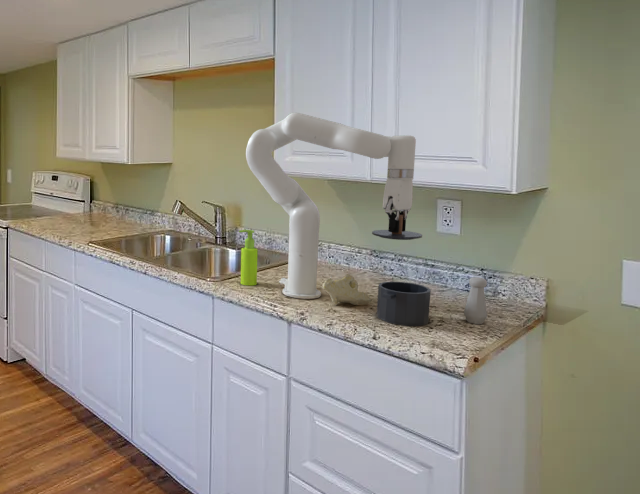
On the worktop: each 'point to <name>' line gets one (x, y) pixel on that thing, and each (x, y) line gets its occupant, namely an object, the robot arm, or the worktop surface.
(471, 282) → the salt shaker
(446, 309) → the worktop surface
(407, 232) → the lid
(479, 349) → the worktop surface
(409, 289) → the pot
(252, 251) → the soap dispenser
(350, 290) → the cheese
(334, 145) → the robot arm
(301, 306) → the worktop surface
